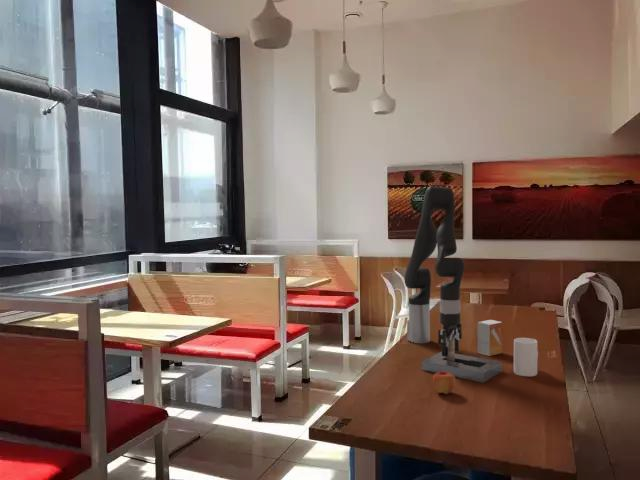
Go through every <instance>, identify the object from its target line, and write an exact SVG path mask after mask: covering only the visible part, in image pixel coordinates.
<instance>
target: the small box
mask: <svg viewBox="0 0 640 480" xmlns="http://www.w3.org/2000/svg"><path fill="white" fill-rule="evenodd" d="M477 353H478V354H481V355H484V356H488V357H491V356H495V355H499V354H503V322H502V321H498V320H494V319H487V320H483V321H478V322H477Z"/></svg>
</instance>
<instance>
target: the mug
mask: <svg viewBox="0 0 640 480" xmlns="http://www.w3.org/2000/svg"><path fill="white" fill-rule="evenodd" d="M538 358H539V351H538V340H537V339H535V338H530V337H517V338H514V339H513V373H514V374H515V375H517V376H520V377H521V376H522V377H535V376H537V375H538Z"/></svg>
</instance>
